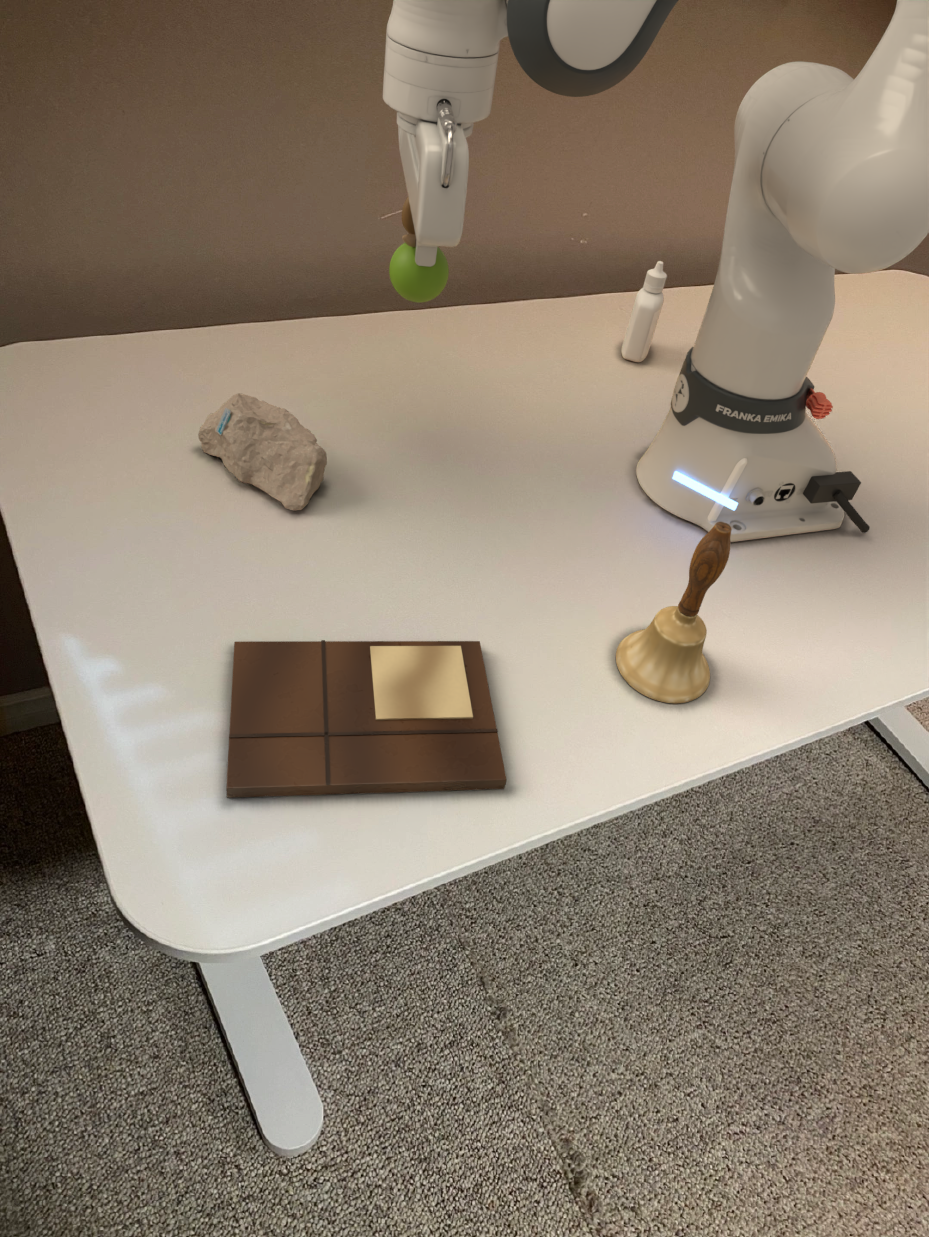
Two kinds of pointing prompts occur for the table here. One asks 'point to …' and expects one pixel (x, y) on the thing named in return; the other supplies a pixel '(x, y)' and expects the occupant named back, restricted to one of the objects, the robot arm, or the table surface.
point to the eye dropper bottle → (644, 315)
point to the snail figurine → (416, 267)
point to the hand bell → (677, 633)
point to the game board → (360, 718)
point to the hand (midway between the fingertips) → (422, 252)
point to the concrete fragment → (265, 449)
